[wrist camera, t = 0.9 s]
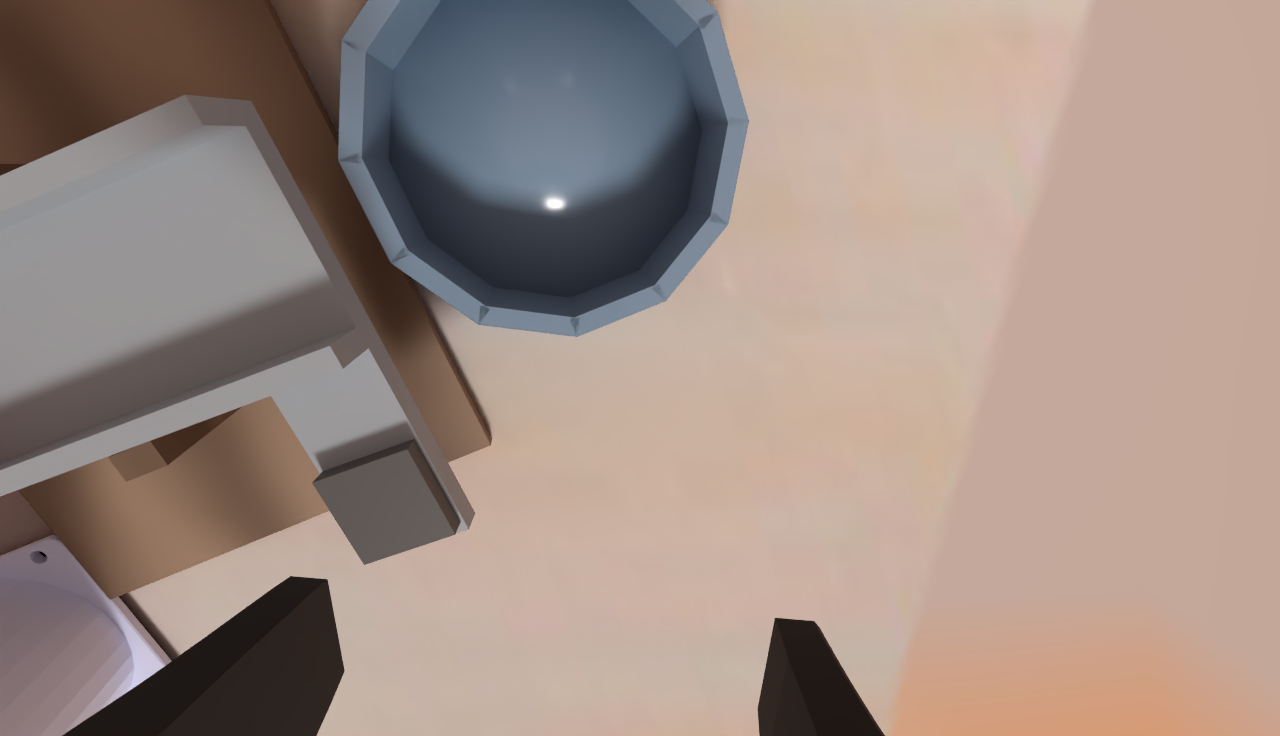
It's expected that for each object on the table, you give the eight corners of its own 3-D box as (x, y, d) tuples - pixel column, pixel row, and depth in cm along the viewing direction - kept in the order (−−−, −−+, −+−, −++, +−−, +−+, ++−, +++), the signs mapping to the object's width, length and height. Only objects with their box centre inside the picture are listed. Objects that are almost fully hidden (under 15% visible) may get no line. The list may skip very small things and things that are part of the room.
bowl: (467, 354, 23) (454, 386, 19) (306, 29, 19) (255, -2, 16) (750, 240, 23) (786, 252, 20) (646, -102, 19) (668, -160, 16)
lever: (51, 655, 20) (-18, 717, 18) (-256, 319, 16) (-392, 347, 14) (475, 512, 18) (454, 562, 16) (251, 100, 15) (185, 94, 12)
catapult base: (120, 589, 23) (6, 702, 18) (-280, 102, 18) (-609, 75, 13) (491, 438, 24) (478, 509, 19) (224, -89, 18) (100, -190, 13)
